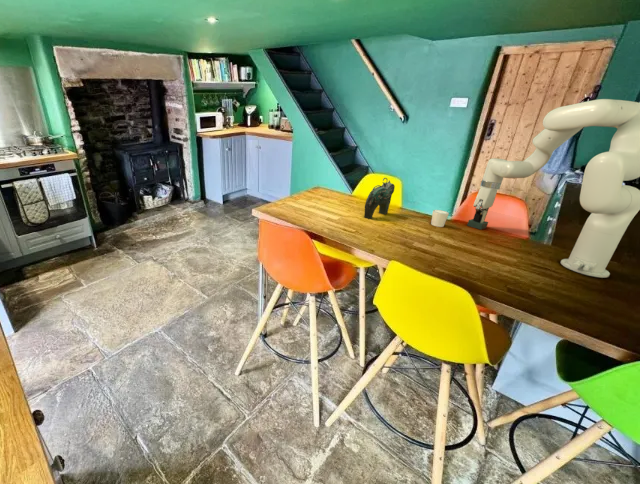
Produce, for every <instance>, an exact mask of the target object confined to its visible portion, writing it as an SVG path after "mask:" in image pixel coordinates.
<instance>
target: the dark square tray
mask: <svg viewBox="0 0 640 484" xmlns="http://www.w3.org/2000/svg"><path fill="white" fill-rule="evenodd" d="M473 219H474V218H471V219H469V220H468V222H467V224H466V226H467V227H470V228H474V229H477V230H485V229H486V228H487V227H488V225H489V222H488V221H484V222H483V223H479V222H475V221H473Z"/></svg>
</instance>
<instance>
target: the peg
mask: <svg viewBox="0 0 640 484" xmlns="http://www.w3.org/2000/svg"><path fill="white" fill-rule="evenodd" d="M480 210H481V209H480ZM481 211H482V210H481ZM486 214H488V212H487V211H485V210H484V211H483V214H482V215H483V217H482V219H481V222H480V223H483V222H484V219H485V220H486V218H485V216H486V217H487V215H486Z"/></svg>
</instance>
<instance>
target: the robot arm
mask: <svg viewBox="0 0 640 484" xmlns="http://www.w3.org/2000/svg"><path fill="white" fill-rule="evenodd" d="M542 127H543V128H544V129H542V130H541V131H539V133H538V134H536V136H535V137H533V139H532V145H533V146H534V147H535V149H534V151H533V152H532V153H531V154H530V155H529V156H528V157H526V158H525V159H523V160H507V159H503V158H498V157H497V158H496V157H495V158H490V159H488V162H487V164H486V167H485V170H484V174H483V177H482V180H481V183H480V185H479V186H480V188H479V190H478V192H477V195H476V197H475V200H474V202H473V207H474V209H475V212H474V216H473V218H472V219H473V221H475V222H479V223H480V222H481V219H482V217H483V215H482V214H483V211H484V210H485V211H487V214H488V212H489V210H490V208H492V207H493V205H494V204H495V199H496V197H497V193H498V191H499V190H500V189H501V186H502V183H503V180H504V179H526V178H529V177H531V176H533V175H534V174H536V173H537V172H539V170H541V169H542V168H544V166H546V164H547V163H548V162H549V161H550V159H551V157H552V156H553V154H554V151H556V150H557V149H558V148H559V147H561V146H562V145H563V144H564V143H566V142H567V141H568V140H569V139H571V138H572V137H573V136H575V135H576V134H577V133H579V132H580V131H581V130H582V129H583V128H589V127H603V128H606V127H607V128H616V131H615V133H614V134H613V135H612V138H611V140H610V146H609V150H608V151H604V152H601V153H598V154H596V155H595V156H593V157H592V158H591V159H590V160H589V161H588V162H587V164H586V166H585V169H584V172H583V177H582V182H581V188H580V193H579V204H580V206H581V208H582V209H583V210H585V211H587V212H588V213H590V215H589V216H588V217H587V219H586V221H585V222H584V224H583V227H582V229H581V231H580V233H579V235H578V238H577V239H576V242H575V244H574V246H573V248H572V250H571V252H570V255H569V257H568V258H563V259H561V260H560V264H561V266H563V267H564V268H566V269H568V270H571V271H572V272H575V273H577V274H581V275H585V276H589V277H594V278H601V279H603V278H604V279H605V278H609V277H610V275H611V273H610V272H609V270H607V269H606V268H607V266H608V264H609V263H610V261H611V259H612V257H613V255H614V253H615V251H616V249H617V248H618V245H619V243H620V241H621V240H622V238H623V236H624V235H625V232H626V231H627V229H628V227H629V226H630V223H631V222H632V221H633V219H634V217H635V216H636V215H637V214H638V212H639V211H640V189H639V188H637V187H635V186H631V185H628V184H627V185H626V184H623V182H625V181H626V182H627V181H633V180H635V179H638V178H640V102H639V101H638V102H637V101H631V100H624V99H623V100H622V99H612V98H600V99H593V100H588V101H582V102H578V103H573V104H568V105H563V106H558V107H556V108H554V109H552V110H550V111H549V112H548V113H546V114H545V115H544V118H543V120H542ZM480 209H481V210H482V211H481V210H480ZM487 214H486V216H485V219H484V221H485V220H486V218H487Z"/></svg>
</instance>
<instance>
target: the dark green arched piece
mask: <svg viewBox="0 0 640 484" xmlns="http://www.w3.org/2000/svg"><path fill="white" fill-rule="evenodd" d="M384 180H386V182H384ZM394 192H395V184H394V183H391V181H390V179H389V180H388V178H387V177H383V179H382V184H381V185H380V184H377V185H375V186H374V187H372V190H371V191H370V192H369V193H368V194H367V195H368V196H367V198H366V201H365V204H364V215H363V217H364V218H365V219H368V220H370V219H373V216H374V213H375V211H376V209H377V208H378V214H381V215H383V216H384V215H388V212H389V208H390V204H391V201H392V196H393V194H394Z"/></svg>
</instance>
